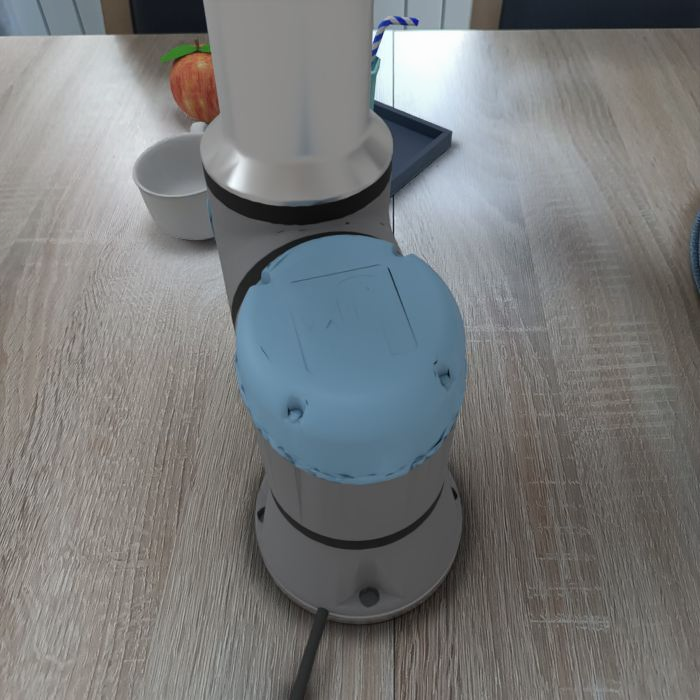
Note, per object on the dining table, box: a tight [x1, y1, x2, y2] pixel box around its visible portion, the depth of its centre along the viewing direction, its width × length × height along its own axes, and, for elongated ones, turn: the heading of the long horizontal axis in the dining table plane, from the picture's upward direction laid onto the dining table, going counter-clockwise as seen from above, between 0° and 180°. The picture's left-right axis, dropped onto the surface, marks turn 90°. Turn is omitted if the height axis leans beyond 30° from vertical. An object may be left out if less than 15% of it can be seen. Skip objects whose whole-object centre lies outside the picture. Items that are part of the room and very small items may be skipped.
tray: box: [373, 99, 453, 198], centre depth 79 cm, size 16×18×2 cm
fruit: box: [159, 37, 220, 124], centre depth 81 cm, size 9×10×10 cm
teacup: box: [131, 121, 214, 241], centre depth 70 cm, size 14×11×8 cm
